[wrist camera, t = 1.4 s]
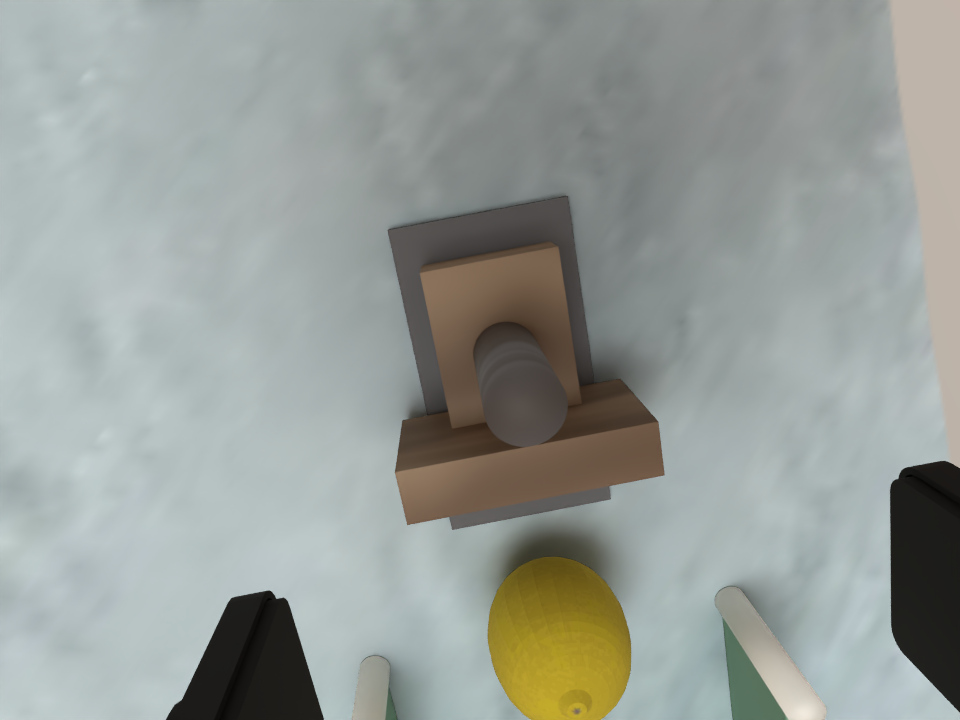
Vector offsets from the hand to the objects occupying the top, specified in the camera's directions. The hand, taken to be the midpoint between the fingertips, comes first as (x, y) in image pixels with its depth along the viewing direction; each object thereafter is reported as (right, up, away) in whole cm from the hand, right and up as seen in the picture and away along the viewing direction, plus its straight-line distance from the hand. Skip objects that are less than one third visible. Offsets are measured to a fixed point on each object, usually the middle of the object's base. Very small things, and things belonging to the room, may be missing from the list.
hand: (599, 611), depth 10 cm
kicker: (-1, +4, +17) cm, 17 cm away
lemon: (+1, -6, +21) cm, 22 cm away
